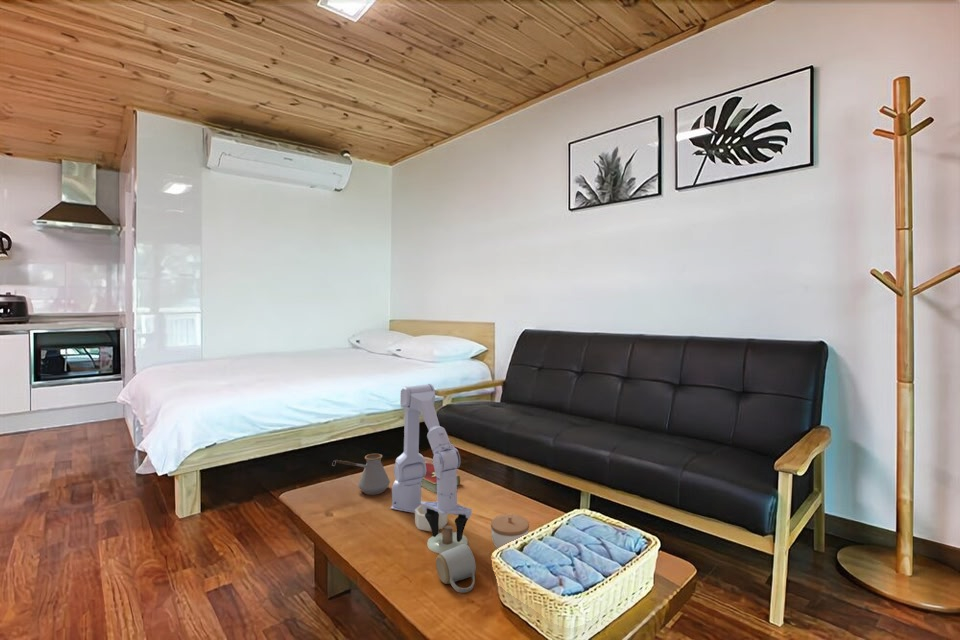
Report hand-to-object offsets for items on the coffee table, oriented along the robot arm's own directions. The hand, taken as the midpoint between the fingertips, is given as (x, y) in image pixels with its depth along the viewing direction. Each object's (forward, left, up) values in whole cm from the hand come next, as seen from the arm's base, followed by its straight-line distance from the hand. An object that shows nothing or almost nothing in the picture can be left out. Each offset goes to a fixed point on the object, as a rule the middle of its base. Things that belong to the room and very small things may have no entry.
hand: (447, 537), depth 135 cm
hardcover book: (-26, +40, -2) cm, 48 cm away
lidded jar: (+18, +3, -2) cm, 18 cm away
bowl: (-10, +9, -2) cm, 14 cm away
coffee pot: (-44, +20, -2) cm, 48 cm away
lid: (0, 0, -2) cm, 2 cm away
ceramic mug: (+11, -15, -2) cm, 19 cm away
